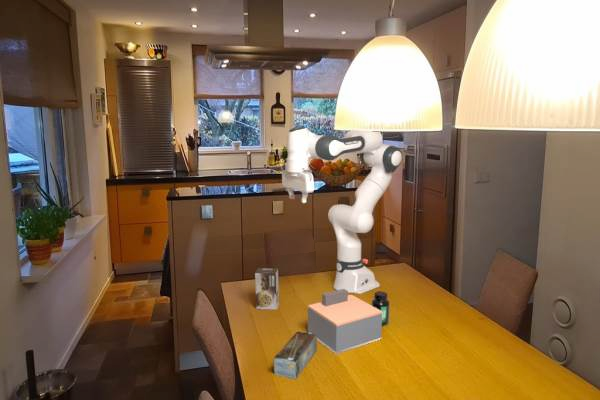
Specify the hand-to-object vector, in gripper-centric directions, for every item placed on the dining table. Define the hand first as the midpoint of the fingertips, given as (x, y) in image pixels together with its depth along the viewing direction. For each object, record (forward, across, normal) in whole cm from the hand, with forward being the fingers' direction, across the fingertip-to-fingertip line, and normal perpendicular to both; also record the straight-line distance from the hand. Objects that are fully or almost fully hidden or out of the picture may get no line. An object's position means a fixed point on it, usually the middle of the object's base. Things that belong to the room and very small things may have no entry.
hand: (297, 200), depth 184 cm
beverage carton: (+46, -40, +24) cm, 65 cm away
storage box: (+45, -34, 0) cm, 56 cm away
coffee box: (+46, +4, +12) cm, 47 cm away
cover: (+35, -34, 0) cm, 49 cm away
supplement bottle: (+46, -31, -19) cm, 58 cm away
